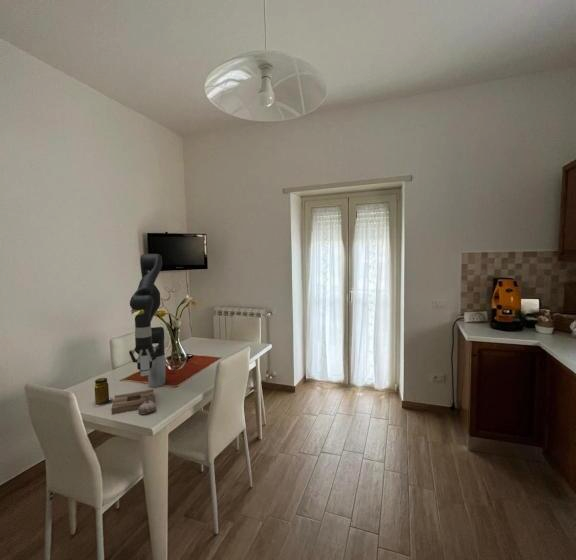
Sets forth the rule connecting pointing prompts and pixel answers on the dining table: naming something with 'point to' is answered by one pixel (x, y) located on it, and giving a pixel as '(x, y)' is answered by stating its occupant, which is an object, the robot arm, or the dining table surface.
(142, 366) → the peg
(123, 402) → the board
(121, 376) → the dining table surface
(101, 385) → the condiment
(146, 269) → the robot arm
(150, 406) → the garlic bulb
